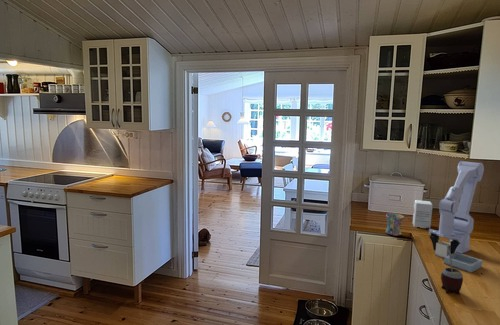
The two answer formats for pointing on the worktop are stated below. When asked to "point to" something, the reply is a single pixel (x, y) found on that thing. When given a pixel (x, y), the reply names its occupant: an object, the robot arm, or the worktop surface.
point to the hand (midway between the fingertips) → (443, 252)
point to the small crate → (442, 249)
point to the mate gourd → (451, 278)
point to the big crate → (463, 262)
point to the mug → (394, 224)
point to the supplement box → (422, 214)
